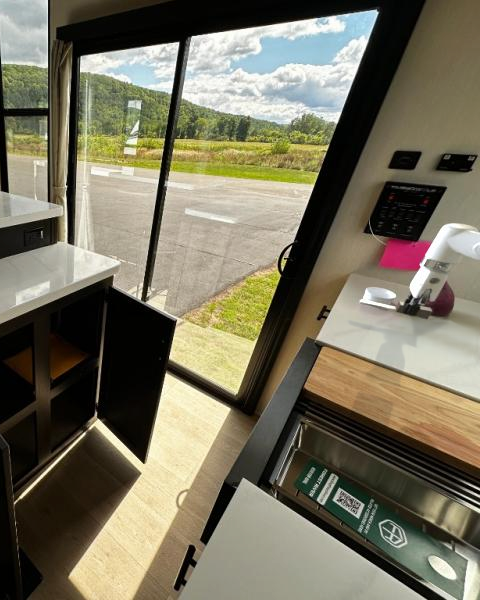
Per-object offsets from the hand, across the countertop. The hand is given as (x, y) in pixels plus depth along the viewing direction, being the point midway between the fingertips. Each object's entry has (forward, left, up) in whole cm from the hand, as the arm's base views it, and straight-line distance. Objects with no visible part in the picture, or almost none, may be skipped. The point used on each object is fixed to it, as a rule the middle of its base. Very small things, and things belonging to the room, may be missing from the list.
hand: (407, 311), depth 109 cm
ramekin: (+6, -13, -5) cm, 15 cm away
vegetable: (-10, -17, -5) cm, 20 cm away
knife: (+4, 0, 0) cm, 4 cm away
